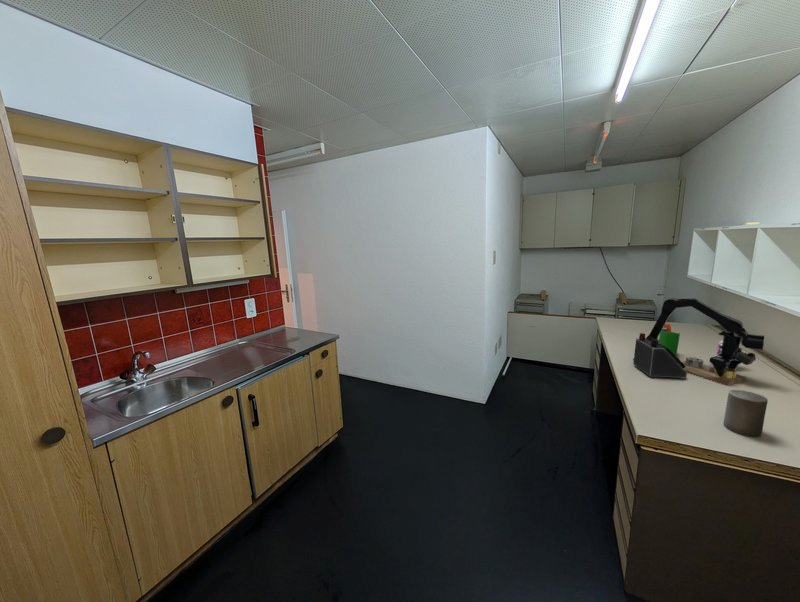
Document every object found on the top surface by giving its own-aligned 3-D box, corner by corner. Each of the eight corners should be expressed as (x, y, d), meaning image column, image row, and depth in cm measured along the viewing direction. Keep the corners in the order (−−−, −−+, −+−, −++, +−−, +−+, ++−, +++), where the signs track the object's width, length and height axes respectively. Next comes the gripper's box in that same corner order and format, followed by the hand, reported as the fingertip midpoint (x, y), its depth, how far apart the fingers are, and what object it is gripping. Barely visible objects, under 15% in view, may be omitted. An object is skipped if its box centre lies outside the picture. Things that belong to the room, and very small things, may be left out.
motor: (681, 358, 182) (686, 326, 179) (666, 359, 183) (670, 326, 179) (667, 352, 192) (671, 321, 189) (652, 353, 192) (656, 322, 189)
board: (727, 385, 148) (729, 373, 147) (669, 367, 170) (671, 357, 169) (746, 379, 153) (748, 368, 152) (688, 363, 176) (689, 353, 175)
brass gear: (732, 380, 149) (733, 373, 149) (714, 376, 155) (715, 368, 154) (737, 377, 153) (738, 370, 152) (718, 373, 158) (720, 365, 158)
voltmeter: (686, 380, 155) (692, 342, 151) (649, 378, 158) (654, 341, 155) (666, 367, 170) (671, 333, 167) (632, 366, 174) (636, 332, 170)
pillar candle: (768, 439, 108) (776, 400, 106) (732, 434, 112) (739, 395, 109) (750, 424, 117) (757, 388, 115) (716, 420, 121) (722, 384, 118)
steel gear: (697, 369, 163) (698, 362, 163) (682, 365, 169) (683, 358, 169) (705, 367, 165) (706, 360, 165) (690, 363, 172) (691, 356, 171)
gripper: (742, 353, 140) (736, 384, 143) (764, 347, 146) (759, 378, 149) (711, 345, 151) (706, 375, 154) (733, 340, 157) (728, 369, 160)
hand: (725, 374), depth 154 cm, fingers open, 9 cm apart
